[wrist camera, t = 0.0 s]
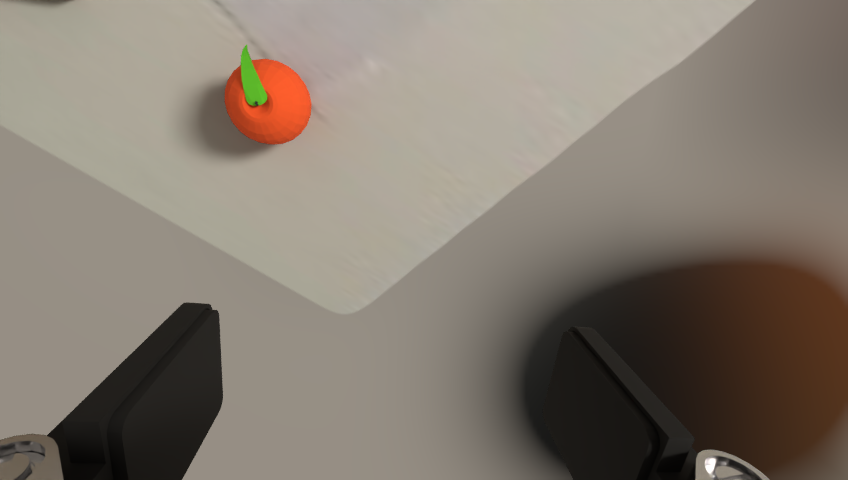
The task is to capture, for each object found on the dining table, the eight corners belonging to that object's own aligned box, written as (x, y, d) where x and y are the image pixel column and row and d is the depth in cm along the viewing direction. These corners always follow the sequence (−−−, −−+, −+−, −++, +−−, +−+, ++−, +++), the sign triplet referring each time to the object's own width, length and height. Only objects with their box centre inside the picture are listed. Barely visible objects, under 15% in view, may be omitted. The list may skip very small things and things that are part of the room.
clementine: (225, 60, 36) (187, 49, 29) (300, 42, 36) (280, 28, 29) (257, 148, 38) (229, 157, 32) (326, 132, 38) (314, 137, 32)
